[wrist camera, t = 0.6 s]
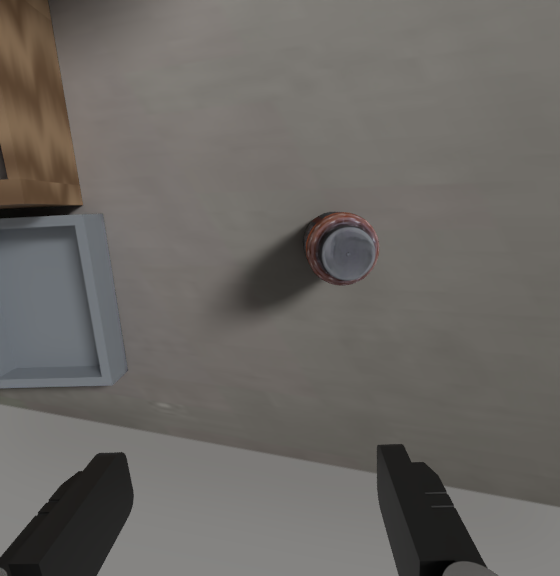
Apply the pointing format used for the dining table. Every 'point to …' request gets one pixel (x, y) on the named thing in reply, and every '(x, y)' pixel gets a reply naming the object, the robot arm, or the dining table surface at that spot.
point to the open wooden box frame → (33, 112)
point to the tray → (58, 304)
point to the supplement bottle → (341, 247)
